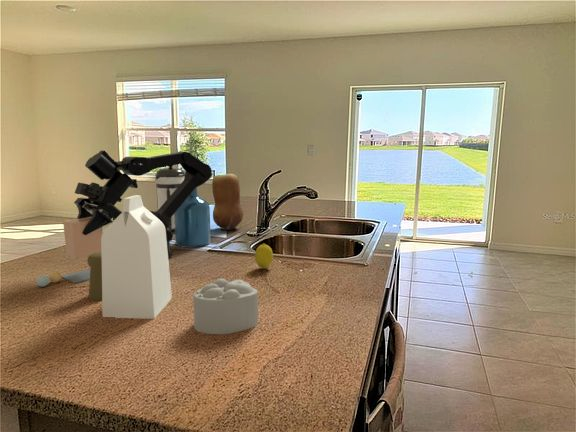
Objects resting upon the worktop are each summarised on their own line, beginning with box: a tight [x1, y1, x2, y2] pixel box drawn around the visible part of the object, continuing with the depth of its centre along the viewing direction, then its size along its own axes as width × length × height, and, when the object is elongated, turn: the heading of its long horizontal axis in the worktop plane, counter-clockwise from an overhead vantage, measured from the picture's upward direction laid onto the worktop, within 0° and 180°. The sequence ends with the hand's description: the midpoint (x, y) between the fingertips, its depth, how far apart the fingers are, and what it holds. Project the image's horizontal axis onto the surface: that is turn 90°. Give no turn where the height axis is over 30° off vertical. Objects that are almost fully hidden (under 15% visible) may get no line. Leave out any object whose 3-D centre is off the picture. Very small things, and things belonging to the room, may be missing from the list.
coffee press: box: [154, 165, 185, 234], centre depth 177 cm, size 17×16×30 cm
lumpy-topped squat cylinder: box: [192, 278, 259, 335], centre depth 85 cm, size 10×13×9 cm
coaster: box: [61, 268, 91, 284], centre depth 116 cm, size 11×9×1 cm
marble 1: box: [35, 274, 51, 288], centre depth 107 cm, size 3×3×3 cm
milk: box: [101, 194, 173, 320], centre depth 91 cm, size 12×12×26 cm
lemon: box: [254, 243, 274, 270], centre depth 122 cm, size 6×6×8 cm
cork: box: [86, 252, 102, 301], centre depth 100 cm, size 6×6×11 cm
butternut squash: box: [211, 173, 245, 231], centre depth 178 cm, size 14×13×25 cm
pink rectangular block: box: [62, 217, 104, 260], centre depth 114 cm, size 8×6×10 cm
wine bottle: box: [174, 170, 211, 248], centre depth 151 cm, size 14×13×30 cm
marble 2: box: [48, 271, 62, 284], centre depth 110 cm, size 3×3×3 cm
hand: (78, 232), depth 113 cm, fingers closed on pink rectangular block, 6 cm apart
